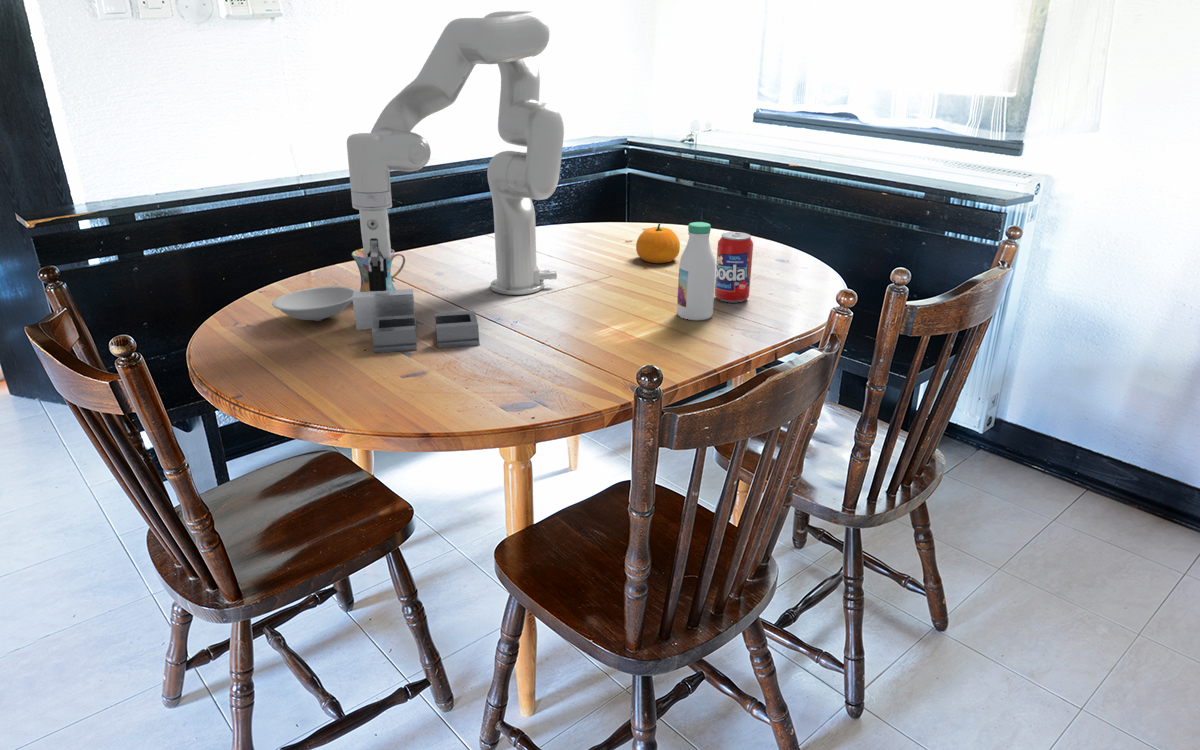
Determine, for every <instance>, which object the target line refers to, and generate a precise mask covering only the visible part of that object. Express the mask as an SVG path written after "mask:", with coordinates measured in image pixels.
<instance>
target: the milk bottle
mask: <svg viewBox="0 0 1200 750" xmlns="http://www.w3.org/2000/svg"><path fill="white" fill-rule="evenodd" d="M687 228H688V229H687V234H688V240H687V242H686V243H687V244H686V245H685V248H684V249H683V251H682V254H681V256H680V260H679V266H678V267H679V269H678V280H677V281H678V282H677V283H678V284H677V299H676V301H677V302H676V303H677V304H676V305H677V306H676V313H677V316H678V317H679V316H680V317H679V318H681V319H683V318H684V319H685V320H687V319H688V321H705V320H709V319H710V318H712V316H713V313H714V300H715V299H714V298H715V279H716V258H715V255H714V252H713V250H712V246H711V244H710V243H711V242H710V235H711V229H712V227H711V224H710V223H708V222H703V221H695V222H690V223H688V226H687ZM684 319H683V320H684Z"/></svg>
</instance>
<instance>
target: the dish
mask: <svg viewBox="0 0 1200 750" xmlns="http://www.w3.org/2000/svg"><path fill="white" fill-rule="evenodd" d="M354 292H359V291H358V290H356V288H352V287H347V286H338V285H337V286H330V285H329V286H318V287H311V288H305V289H299V290H295V291H291V292H289V293H286V294H283V295H280V296H279V297H276V298H274V300H273V301H272V304H271V305H272V308H274V309H275V310H276V309H277V310H279V311H280V312H282V313H283V314H285V315H287V316H289V317H291V318H293V319H297V320H301V321H315V322H322V321H324V319H326V318H327V319H328V318H330V317H333V316H336V315H338V314H339V313H342V312H343V311H345V310H346V309H347V308H348V306H350V304H351V303H353V300H352V296H353V293H354Z"/></svg>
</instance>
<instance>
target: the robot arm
mask: <svg viewBox="0 0 1200 750" xmlns="http://www.w3.org/2000/svg"><path fill="white" fill-rule="evenodd" d="M549 39H550V29H549V25H548V23H547V21H546V19H545V18H544V17H543V16H542V15H541V14H539V13H537V12H535V11H528V10H524V11H523V10H521V11H515V10H514V11H512V10H511V11H508V10H506V11H494V12H490V13H489V14H486V15H485V16H484V17H461V18H460V17H459V18H456V19H453V20H451V21H450V22H449V23H448V24H447V25H445V27H444V29H443V30H442V32H441V34H440V35H439V38H438V40H437V41H436V43H435V45H434V46H433V49H432V50H431V51H430V53H429V55H428V57H427V59H426V60H425V62H424V64H423V66H422V67H421V69H420V71H419V73H418V75H417V76H416V78H415V79H414V80H412V81H411V82H410V83H408V84H407V85H406V86H405V87H404V88H403V89H402V90H401V91H399V93H398V94H396V95H395V96H394V97H393V98H392V99H391V100H390V101H389V102H388V103H387V104H386V106H385V107H384V108H383V110H381V112H380V115H379V116H378V118H377V119H376V122H375V123H374V124H373V127H372V129H371V131H370V132H361V133H360V132H359V133H353V134H351V135H349V136H348V137H347V140H346V149H347V162H348V171H349V172H348V173H349V174H348V175H349V184H350V185H349V186H350V192H351V193H350V194H351V196H350V197H351V205H352V208H353V209H355V210H358V211H359V212H358V213H359V222H360V233H361V240H362V247H363V248H364V254H365V258H366V259H367V260H368V262H369V271H368V277H369V288H370V291H386V278H387V263H386V259H383V258H387V259H390V257H391V249H392V248H391V247H392V246H391V245H392V244H391V235H390V222H389V221H390V219H389V214H388V213H389V212H388V209H390V208H391V209H392V207H393V202H392V201H393V199H392V189H391V188H392V187H391V173H390V172H392V171H394V172H395V171H396V172H415V171H420V170H421V169H423V168H424V167H425V166H426V165H427V164H428V163H429V161H430V158H431V155H432V154H431V147H430V145H429V143H428V141H427V140H426V138H424V137H423V136H422V135H420V134H418V133H416V132H412V131H413V129H414V127H415V126H417V125H418V124H419V123H420V122H421V121H423V120H424V119H426V118H427V117H428V116H430V115H433V114H435V113H438V112H440V111H442V110H445V109H446V108H448V107H449V106H452V105H453V104H454V103H455V102H456V100H457V98H458V97H459V95H460V93H461V91H462V89H463V87H464V86H465V83H466V82H467V80H468V79H469V77H470V74H471V73H472V71H473V69H474V68H475V66H476V65H497V66H498V69H499V73H500V93H499V94H500V95H499V104H498V105H499V107H498V119H497V131H498V134H499V137H500V138H501V139H502V141H504V142H505V143H507V144H510V145H516V146H521V147H526V152H522V151H515V150H504V151H500V152H498V153H496V154H494V156H492V158H491V159H490V160H489V163H488V165H487V170H486V171H487V175H486V176H487V177H486V178H487V183H488V186H489V190H490V194H491V200H492V209H493V225H494V227H493V229H494V246H495V263H496V264H495V265H496V267H495V268H496V278H495V279H493V280H492V281H491V282H490V289H491V290H492V291H493V292H495V293H498V294H501V295H510V296H511V295H512V296H517V295H518V296H521V295H530V294H535V293H536V292H537V293H538V292H539V291H541V290H542V289H543V288H544V280H557V279H558V278H557V277H558V274H557V271H556V270H554V271H551V270H550V269H544V270H543V269H542V270H541V269H539V267H538V266H537V236H536V235H537V234H536V229H537V228H536V211H535V206H534V203H533V200H536V201H542V200H546V199H548V198H550V197H551V196H552V195H553V194H554V193H555V191H556V189H557V187H558V183H559V180H560V172H561V165H562V155H563V146H564V134H565V127H564V122H563V118H562V116H561V113H560V111H559V110H558V109H557V108H556V107H555V106H553V105H552V104H550V103H546V102H542V101H541V102H540V87H541V86H540V85H541V80H540V79H541V77H540V70H539V68H538V65H537V64H538V63H536V61H535V58H534V57H536V56H538V55H540V54H542V53H543V52H544V50H545V49H546V48H547V46H548V43H549ZM363 248H362V249H363ZM370 254H371V255H370Z"/></svg>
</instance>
